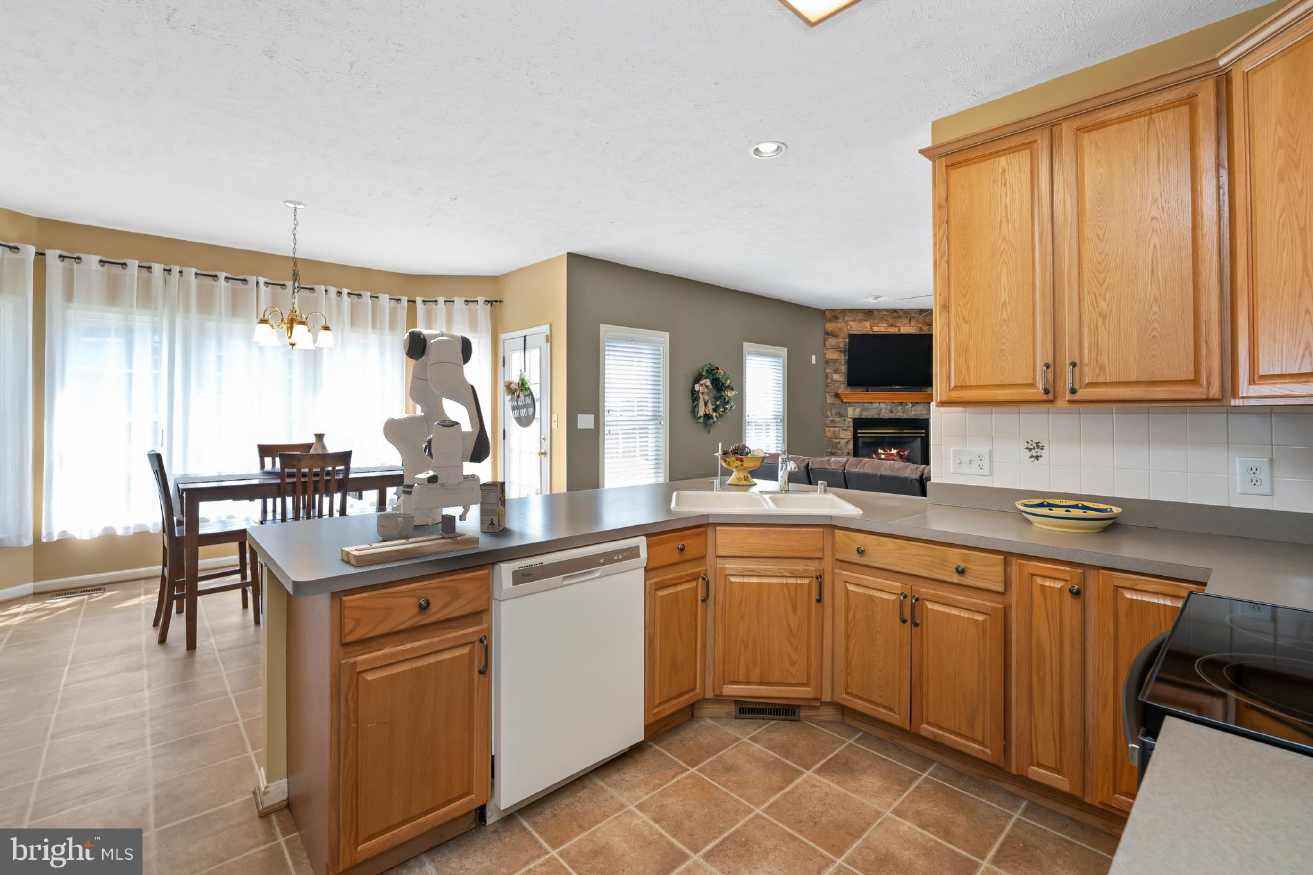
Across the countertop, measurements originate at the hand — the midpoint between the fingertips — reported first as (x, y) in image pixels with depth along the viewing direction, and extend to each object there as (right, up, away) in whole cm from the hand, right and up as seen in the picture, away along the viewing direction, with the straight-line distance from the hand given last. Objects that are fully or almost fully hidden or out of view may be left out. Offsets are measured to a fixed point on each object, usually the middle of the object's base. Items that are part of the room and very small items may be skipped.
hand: (447, 522), depth 177 cm
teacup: (-19, -7, +9) cm, 22 cm away
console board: (-7, -7, -7) cm, 13 cm away
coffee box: (+6, -7, +28) cm, 29 cm away
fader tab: (0, -4, 0) cm, 4 cm away
